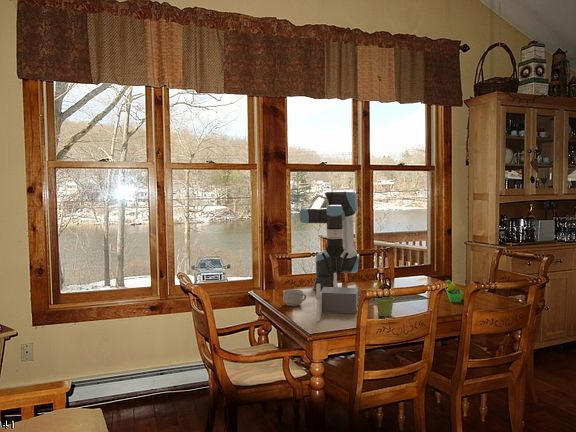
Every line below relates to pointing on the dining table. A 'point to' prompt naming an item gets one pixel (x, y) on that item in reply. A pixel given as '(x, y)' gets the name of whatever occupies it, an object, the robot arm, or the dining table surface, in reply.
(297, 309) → the dining table surface
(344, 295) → the box housing
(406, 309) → the dining table surface
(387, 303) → the plant pot
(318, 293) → the door
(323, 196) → the robot arm
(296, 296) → the teacup
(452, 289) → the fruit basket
